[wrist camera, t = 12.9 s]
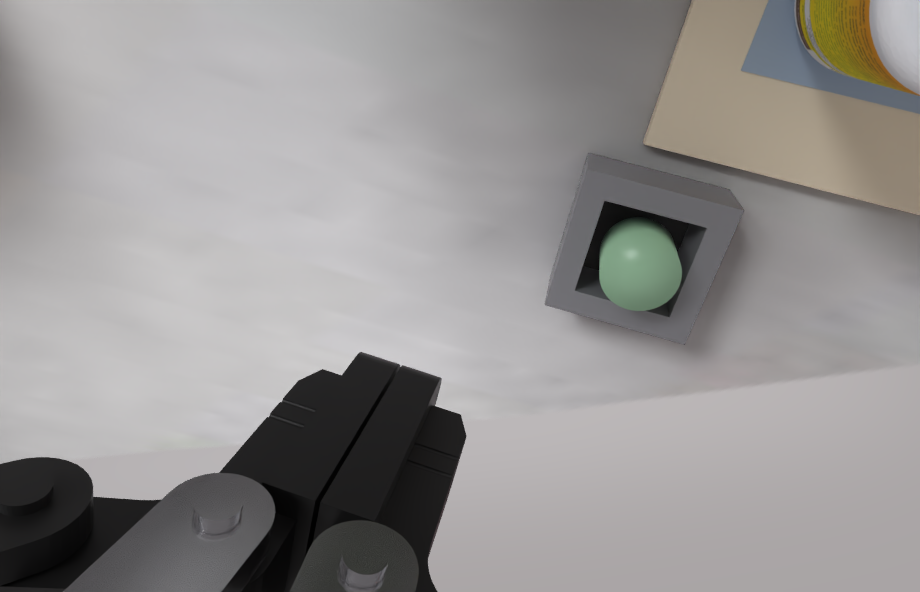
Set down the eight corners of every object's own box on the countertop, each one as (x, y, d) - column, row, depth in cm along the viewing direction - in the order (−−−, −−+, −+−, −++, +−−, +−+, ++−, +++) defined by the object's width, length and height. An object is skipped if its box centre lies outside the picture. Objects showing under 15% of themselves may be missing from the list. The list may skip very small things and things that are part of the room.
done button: (612, 208, 25) (613, 228, 23) (686, 228, 25) (694, 250, 23) (590, 274, 27) (589, 298, 24) (659, 293, 26) (665, 320, 24)
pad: (780, -256, 20) (786, -265, 19) (1177, -179, 19) (1196, -185, 18) (642, 141, 26) (643, 144, 25) (940, 217, 25) (948, 223, 24)
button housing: (588, 152, 26) (587, 168, 24) (729, 189, 26) (744, 210, 23) (549, 277, 29) (544, 304, 27) (677, 313, 29) (684, 344, 26)
